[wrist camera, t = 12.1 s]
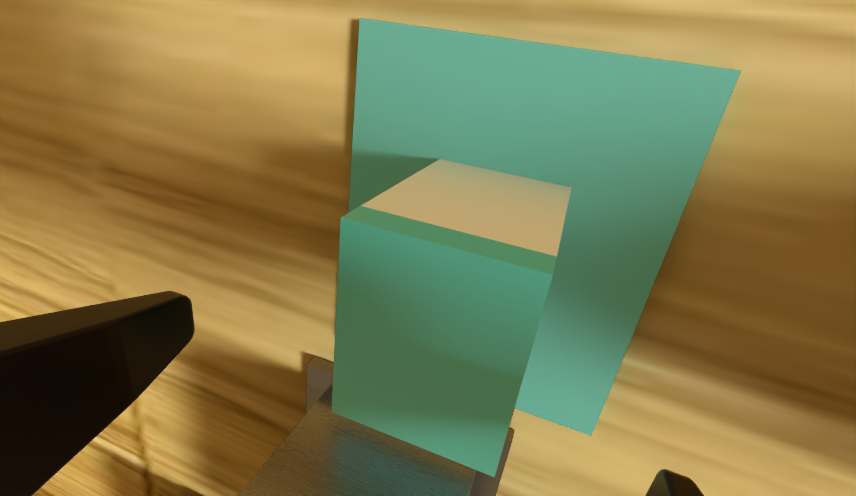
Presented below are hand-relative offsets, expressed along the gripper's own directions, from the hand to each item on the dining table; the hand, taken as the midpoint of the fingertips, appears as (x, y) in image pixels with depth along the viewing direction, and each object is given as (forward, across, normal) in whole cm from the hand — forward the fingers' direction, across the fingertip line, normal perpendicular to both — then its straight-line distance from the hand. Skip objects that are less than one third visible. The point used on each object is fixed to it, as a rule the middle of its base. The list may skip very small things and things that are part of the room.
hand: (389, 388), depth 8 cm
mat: (+8, 0, 0) cm, 8 cm away
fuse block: (+7, 0, 0) cm, 7 cm away
